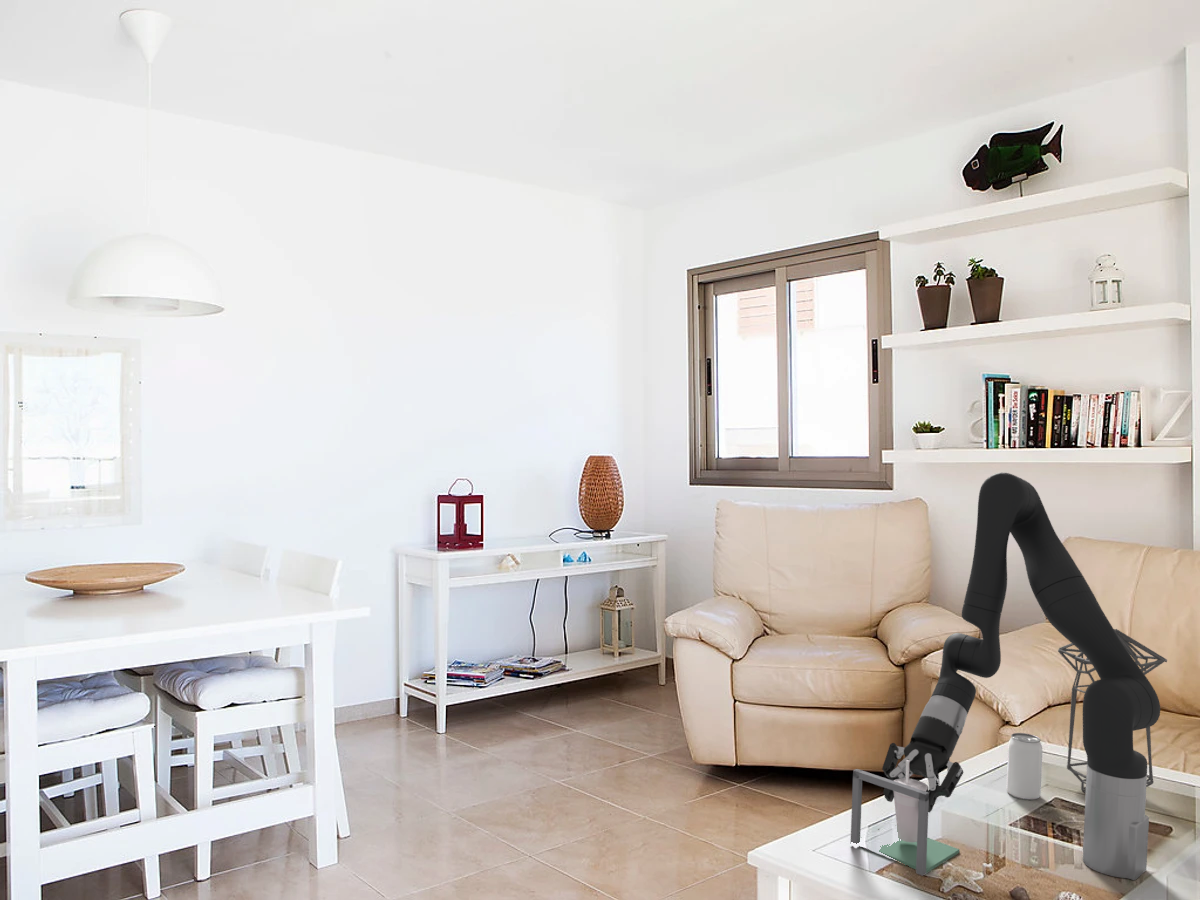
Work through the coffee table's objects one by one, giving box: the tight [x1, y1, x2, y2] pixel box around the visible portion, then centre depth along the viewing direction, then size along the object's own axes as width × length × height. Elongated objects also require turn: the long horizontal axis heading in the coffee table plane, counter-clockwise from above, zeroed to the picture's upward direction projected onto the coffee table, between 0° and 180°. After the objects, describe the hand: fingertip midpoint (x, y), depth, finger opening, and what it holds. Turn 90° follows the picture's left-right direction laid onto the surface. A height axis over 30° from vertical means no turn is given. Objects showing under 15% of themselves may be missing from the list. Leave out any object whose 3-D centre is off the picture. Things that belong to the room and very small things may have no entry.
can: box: [1006, 732, 1043, 801], centre depth 198 cm, size 6×6×12 cm
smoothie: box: [893, 760, 929, 842], centre depth 172 cm, size 6×6×14 cm
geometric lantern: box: [1057, 628, 1168, 794], centre depth 199 cm, size 16×16×35 cm
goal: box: [850, 768, 960, 877], centre depth 171 cm, size 14×13×14 cm
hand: (905, 805), depth 171 cm, fingers closed on smoothie, 6 cm apart
